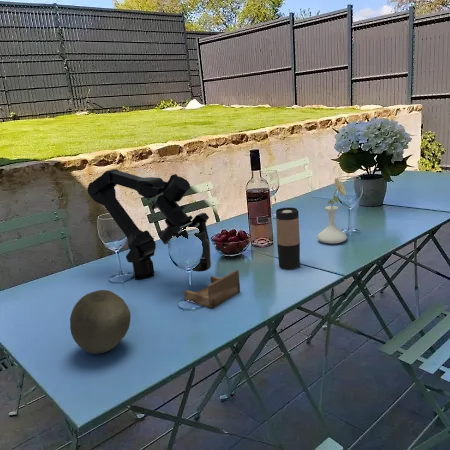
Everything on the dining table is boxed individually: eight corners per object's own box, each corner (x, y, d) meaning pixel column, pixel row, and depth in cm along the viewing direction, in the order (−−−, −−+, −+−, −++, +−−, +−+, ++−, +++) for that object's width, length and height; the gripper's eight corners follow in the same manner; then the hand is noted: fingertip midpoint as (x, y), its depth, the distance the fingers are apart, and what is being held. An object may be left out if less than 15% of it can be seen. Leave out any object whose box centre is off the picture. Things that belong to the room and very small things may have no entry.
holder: (185, 300, 130) (182, 278, 128) (213, 284, 139) (211, 264, 137) (212, 308, 123) (210, 286, 121) (240, 291, 132) (238, 270, 130)
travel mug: (273, 267, 149) (270, 211, 144) (286, 260, 154) (284, 206, 149) (292, 271, 144) (289, 214, 138) (304, 264, 149) (303, 208, 144)
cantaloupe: (78, 372, 98) (66, 313, 94) (73, 343, 110) (62, 290, 106) (139, 354, 103) (131, 297, 99) (128, 328, 116) (120, 277, 111)
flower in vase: (335, 248, 162) (334, 182, 156) (311, 242, 171) (309, 180, 164) (355, 239, 171) (355, 176, 164) (331, 234, 179) (330, 174, 172)
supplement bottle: (198, 274, 131) (195, 236, 128) (185, 268, 136) (182, 232, 133) (215, 267, 136) (213, 231, 132) (202, 261, 141) (199, 227, 137)
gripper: (177, 218, 148) (206, 253, 145) (139, 234, 133) (170, 273, 131) (194, 197, 142) (224, 233, 139) (156, 212, 127) (189, 252, 124)
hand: (202, 248), depth 133 cm, fingers closed on supplement bottle, 7 cm apart
